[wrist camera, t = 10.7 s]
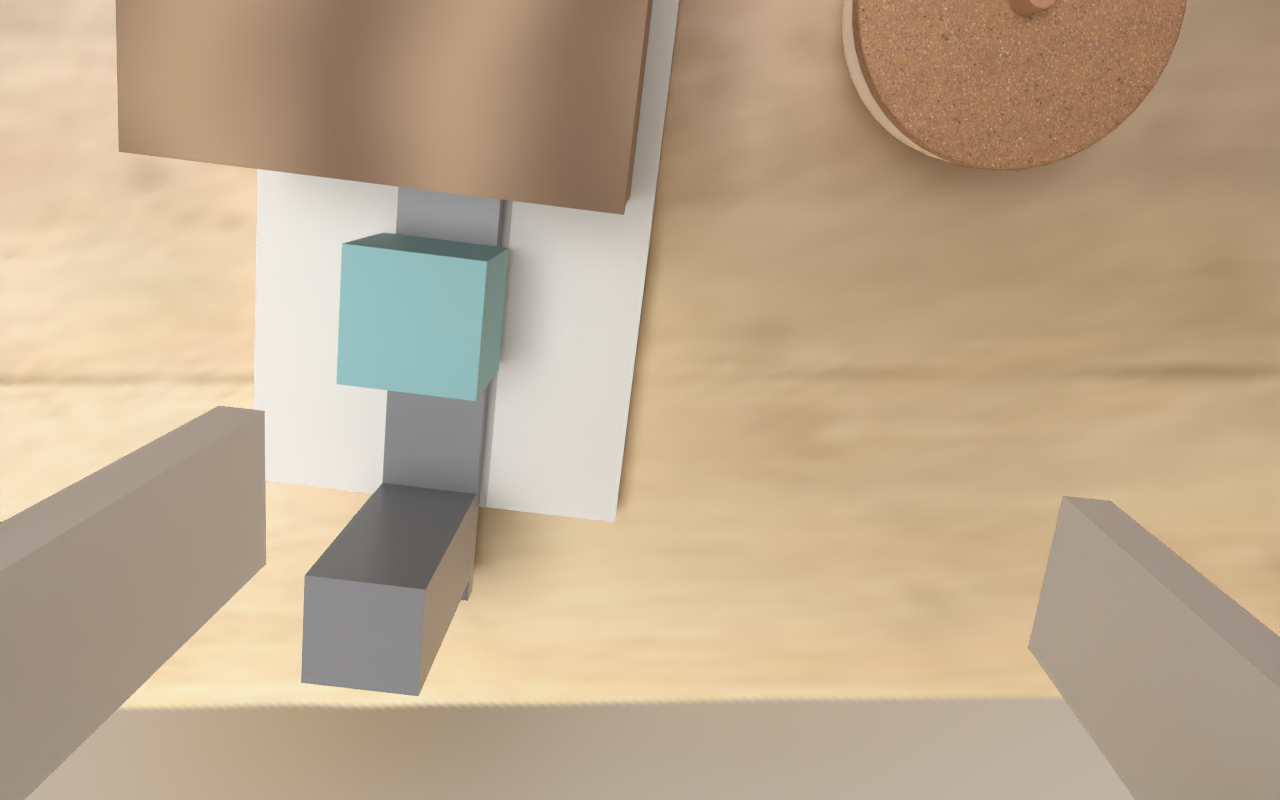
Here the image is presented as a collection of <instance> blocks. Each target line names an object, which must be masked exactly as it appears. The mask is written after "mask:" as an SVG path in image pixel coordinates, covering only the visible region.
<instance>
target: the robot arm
mask: <svg viewBox="0 0 1280 800" xmlns="http://www.w3.org/2000/svg"><path fill="white" fill-rule="evenodd" d="M265 564H266V509H265V411H262V410H252V409H243V408H234V407H224V406H218V407H216V408H214V409H212V410H210V411H208V412H207V413H205V414H203V415H201V416H199V417H197V418H195V419H194V420H192V421H190V422H188V423H186V424H184V425H182V426H180V427H179V428H177V429H175V430H173V431H171V432H169V433H167V434H166V435H164V436H162V437H160V438H158V439H156V440H154V441H153V442H151V443H149V444H147V445H145V446H143V447H141V448H139V449H138V450H136V451H134V452H132V453H130V454H128V455H126V456H125V457H123V458H121V459H119V460H117V461H115V462H113V463H111V464H110V465H108V466H106V467H104V468H102V469H100V470H98V471H97V472H95V473H93V474H91V475H89V476H87V477H85V478H84V479H82V480H80V481H78V482H76V483H74V484H72V485H70V486H69V487H67V488H65V489H63V490H61V491H59V492H57V493H56V494H54V495H52V496H50V497H48V498H46V499H44V500H43V501H41V502H39V503H37V504H35V505H33V506H31V507H29V508H28V509H26V510H24V511H22V512H20V513H18V514H16V515H15V516H13V517H11V518H9V519H7V520H5V521H3V522H0V800H25V799H26V798H27V797H28V796H29V795H30V794H31V793H32V792H33V791H34V790H35V789H36V788H37V787H38V786H39V785H40V784H41V783H42V782H43V781H44V780H45V779H46V778H47V777H48V776H49V775H50V774H51V773H52V772H53V771H54V770H55V769H56V768H57V767H58V766H59V765H61V764H62V763H63V761H65V760H66V758H68V757H69V756H70V755H71V754H72V753H73V752H74V751H75V750H76V749H77V748H78V747H79V746H80V745H81V744H82V743H83V742H84V741H85V740H86V739H87V738H88V737H89V736H90V735H91V734H92V733H93V732H94V731H95V730H96V729H97V728H98V727H99V726H100V725H101V724H103V723H104V722H105V721H106V720H107V719H108V718H109V717H110V716H111V715H112V714H113V713H114V712H115V711H116V710H117V709H118V708H119V707H120V706H121V705H122V704H123V703H124V702H125V701H126V700H127V699H128V698H129V697H130V696H131V695H132V694H133V693H134V692H135V691H136V690H137V689H138V688H139V687H140V686H141V685H142V684H143V683H145V682H146V681H147V680H148V679H149V678H150V677H151V676H152V675H153V674H154V673H155V672H156V671H157V670H158V669H159V668H160V667H161V666H162V665H163V664H164V663H165V662H166V661H167V660H168V659H169V658H170V657H171V656H172V655H173V654H174V653H175V652H176V651H177V650H178V649H179V648H180V647H181V646H182V645H183V644H184V643H185V642H187V641H188V640H189V639H190V638H191V637H192V636H193V635H194V634H195V633H196V632H197V631H198V630H199V629H200V628H201V627H202V626H203V625H204V624H205V623H206V622H207V621H208V620H209V619H210V618H211V617H212V616H213V615H214V614H215V613H216V612H217V611H218V610H219V609H220V608H221V607H222V606H223V605H224V604H225V603H226V602H227V601H229V600H230V599H231V598H232V597H233V596H234V595H235V594H236V593H237V592H238V591H239V590H240V589H241V588H242V587H243V586H244V585H245V584H246V583H247V582H248V581H249V580H250V579H251V578H252V577H253V576H254V575H255V574H256V573H257V572H258V571H259V570H260V569H261V568H262V567H263V566H264V565H265ZM1028 648H1029V650H1030V651H1031V652H1032V654H1033V655H1034V657H1035V658H1036V660H1037V661H1038V662H1039V664H1040V665H1041V667H1042V668H1043V669H1044V671H1045V672H1046V674H1047V675H1048V677H1049V678H1050V679H1051V681H1052V682H1053V684H1054V685H1055V687H1056V688H1057V689H1058V691H1059V692H1060V694H1061V695H1062V696H1063V698H1064V699H1065V701H1066V702H1067V704H1068V705H1069V706H1070V708H1071V709H1072V711H1073V712H1074V714H1075V715H1076V716H1077V718H1078V719H1079V721H1080V722H1081V723H1082V725H1083V726H1084V728H1085V729H1086V730H1087V732H1088V733H1089V735H1090V736H1091V738H1092V739H1093V740H1094V742H1095V743H1096V745H1097V746H1098V748H1099V749H1100V750H1101V752H1102V753H1103V755H1104V756H1105V757H1106V759H1107V760H1108V762H1109V763H1110V764H1111V766H1112V767H1113V769H1114V770H1115V772H1116V773H1117V775H1118V776H1119V777H1120V779H1121V780H1122V782H1123V783H1124V784H1125V786H1126V787H1127V788H1128V790H1129V791H1130V793H1131V794H1132V796H1133V797H1134V799H1135V800H1280V637H1279V636H1278V635H1276V634H1275V633H1274V632H1273V631H1271V630H1270V629H1269V628H1268V627H1266V626H1265V625H1264V624H1263V623H1261V622H1260V621H1259V620H1258V619H1256V618H1255V617H1254V616H1253V615H1251V614H1250V613H1249V612H1248V611H1246V610H1245V609H1244V608H1243V607H1242V606H1240V605H1239V604H1238V603H1237V602H1235V601H1234V600H1233V599H1232V598H1230V597H1229V596H1228V595H1227V594H1225V593H1224V592H1223V591H1222V590H1220V589H1219V588H1218V587H1217V586H1215V585H1214V584H1213V583H1212V582H1210V581H1209V580H1208V579H1207V578H1205V577H1204V576H1203V575H1202V574H1200V573H1199V572H1198V571H1197V570H1195V569H1194V568H1193V567H1192V566H1191V565H1189V564H1188V563H1187V562H1186V561H1184V560H1183V559H1182V558H1181V557H1179V556H1178V555H1177V554H1176V553H1174V552H1173V551H1172V550H1171V549H1169V548H1168V547H1167V546H1166V545H1164V544H1163V543H1162V542H1161V541H1159V540H1158V539H1157V538H1156V537H1154V536H1153V535H1152V534H1151V533H1149V532H1148V531H1147V530H1146V529H1144V528H1143V527H1142V526H1141V525H1140V524H1138V523H1137V522H1136V521H1135V520H1133V519H1132V518H1131V517H1130V516H1128V515H1127V514H1126V513H1125V512H1123V511H1122V510H1121V509H1120V508H1118V507H1117V506H1116V505H1115V504H1113V503H1112V502H1111V501H1104V500H1095V499H1086V498H1076V497H1067V496H1063V499H1062V503H1061V507H1060V512H1059V516H1058V520H1057V525H1056V529H1055V533H1054V538H1053V542H1052V546H1051V551H1050V555H1049V559H1048V564H1047V568H1046V572H1045V577H1044V581H1043V585H1042V590H1041V594H1040V598H1039V603H1038V607H1037V611H1036V616H1035V620H1034V624H1033V629H1032V633H1031V637H1030V642H1029V646H1028Z"/></svg>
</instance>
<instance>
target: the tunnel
mask: <svg viewBox="0 0 1280 800" xmlns="http://www.w3.org/2000/svg"><path fill="white" fill-rule="evenodd" d="M652 5H653V0H116V34H117V82H118V131H119V152H126V153H134V154H142V155H150V156H158V157H166V158H174V159H182V160H190V161H198V162H206V163H214V164H222V165H230V166H238V167H246V168H254V169H262V170H270V171H278V172H286V173H294V174H302V175H310V176H318V177H326V178H334V179H342V180H350V181H358V182H366V183H373V184H381V185H389V186H397V187H405V188H413V189H421V190H429V191H437V192H445V193H453V194H461V195H469V196H477V197H485V198H493V199H501V200H509V201H517V202H525V203H533V204H541V205H549V206H557V207H565V208H573V209H581V210H589V211H597V212H605V213H613V214H621V215H624V213H625V205H626V203H627V202H628V200H629V199H630V193H631V184H632V176H633V167H634V159H635V150H636V142H637V133H638V125H639V116H640V107H641V99H642V90H643V82H644V73H645V65H646V56H647V47H648V39H649V30H650V22H651V13H652Z"/></svg>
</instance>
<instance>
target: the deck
mask: <svg viewBox="0 0 1280 800" xmlns="http://www.w3.org/2000/svg"><path fill="white" fill-rule="evenodd" d="M678 7H679V0H653V5H652V13H651V22H650V30H649V39H648V47H647V56H646V65H645V73H644V82H643V90H642V99H641V107H640V116H639V125H638V133H637V142H636V150H635V159H634V167H633V176H632V184H631V193H630V199H629V200H628V202H627V203H626V205H625V213H624V215H621V214H613V213H605V212H597V211H589V210H581V209H573V208H565V207H557V206H549V205H541V204H533V203H525V202H517V201H509V200H504V210H503V222H502V234H501V246H500V247H504V248H509V256H508V267H507V279H506V291H505V302H504V314H503V326H502V338H501V349H500V361H499V371H498V372H497V373H496V375H495V376H494V377H493V379H492V380H491V381H490V383H489V390H488V402H487V415H486V427H485V439H484V451H483V463H482V475H481V487H480V499H479V507H481V508H486V507H489V508H497V509H505V510H514V511H522V512H531V513H539V514H547V515H556V516H564V517H572V518H581V519H589V520H598V521H606V522H614V523H615V517H616V509H617V501H618V493H619V485H620V477H621V468H622V460H623V452H624V444H625V436H626V428H627V420H628V412H629V404H630V396H631V387H632V379H633V371H634V363H635V355H636V347H637V339H638V331H639V323H640V315H641V307H642V298H643V290H644V282H645V274H646V266H647V258H648V250H649V242H650V234H651V226H652V218H653V209H654V201H655V193H656V185H657V177H658V169H659V161H660V153H661V145H662V137H663V128H664V120H665V112H666V104H667V96H668V88H669V80H670V72H671V64H672V56H673V48H674V39H675V31H676V23H677V15H678ZM397 206H398V187H397V186H389V185H381V184H373V183H366V182H358V181H350V180H342V179H334V178H326V177H318V176H310V175H302V174H294V173H286V172H278V171H270V170H262V169H258V179H257V240H256V301H255V362H254V410H262V411H265V481H271V482H279V483H288V484H296V485H304V486H313V487H321V488H329V489H338V490H346V491H355V492H363V493H371V494H374V492H375V491H376V490H377V489H378V488H379V486H380V485H381V484H382V482H383V463H384V445H385V427H386V408H387V390H381V389H372V388H364V387H356V386H348V385H339V384H336V383H337V358H338V332H339V307H340V282H341V257H342V243H346V242H350V241H353V240H357V239H361V238H365V237H368V236H372V235H376V234H379V233H383V232H384V233H392V234H396V224H397Z"/></svg>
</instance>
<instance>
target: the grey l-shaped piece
mask: <svg viewBox="0 0 1280 800" xmlns="http://www.w3.org/2000/svg"><path fill="white" fill-rule="evenodd" d="M503 210H504V200H501V199H493V198H485V197H477V196H469V195H461V194H453V193H445V192H437V191H429V190H421V189H413V188H405V187H398V206H397V224H396V234H400V235H408V236H416V237H424V238H432V239H440V240H448V241H456V242H464V243H472V244H480V245H488V246H496V247H500V246H501V234H502V222H503ZM488 390H489V384H488V385H487V387H486V388H485V390H484V391H483V392H482V394H481V395H480V396H479V398H478V399H477V400H476V401H471V400H463V399H455V398H446V397H438V396H430V395H422V394H413V393H405V392H397V391H389V390H387V408H386V427H385V445H384V463H383V482H382V484H381V485H380V486H379V488H378V489H377V490H376V491H375V492H374V494H373V495H372V496H371V497H370V498H369V499H368V501H367V502H366V503H365V504H364V505H363V507H362V508H361V509H360V510H359V511H358V513H357V514H356V515H355V516H354V517H353V519H352V520H351V521H350V522H349V523H348V525H347V526H346V527H345V528H344V529H343V531H342V532H341V533H340V534H339V535H338V536H337V538H336V539H335V540H334V541H333V542H332V544H331V545H330V546H329V547H328V548H327V550H326V551H325V552H324V553H323V554H322V556H321V557H320V558H319V559H318V560H317V562H316V563H315V564H314V565H313V566H312V567H311V569H310V570H309V571H308V572H307V573H306V575H305V585H304V616H303V647H302V678H301V683H310V684H318V685H327V686H336V687H344V688H353V689H362V690H370V691H379V692H387V693H396V694H405V695H413V696H419V694H420V691H421V689H422V687H423V684H424V682H425V680H426V678H427V675H428V673H429V671H430V668H431V666H432V664H433V662H434V659H435V657H436V655H437V652H438V650H439V648H440V646H441V643H442V641H443V639H444V636H445V634H446V632H447V630H448V627H449V625H450V623H451V620H452V618H453V616H454V614H455V611H456V609H457V607H458V604H459V602H460V600H467V601H468V598H469V596H470V594H471V591H472V583H473V571H474V559H475V547H476V535H477V523H478V511H479V499H480V487H481V475H482V463H483V451H484V439H485V427H486V415H487V402H488Z"/></svg>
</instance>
